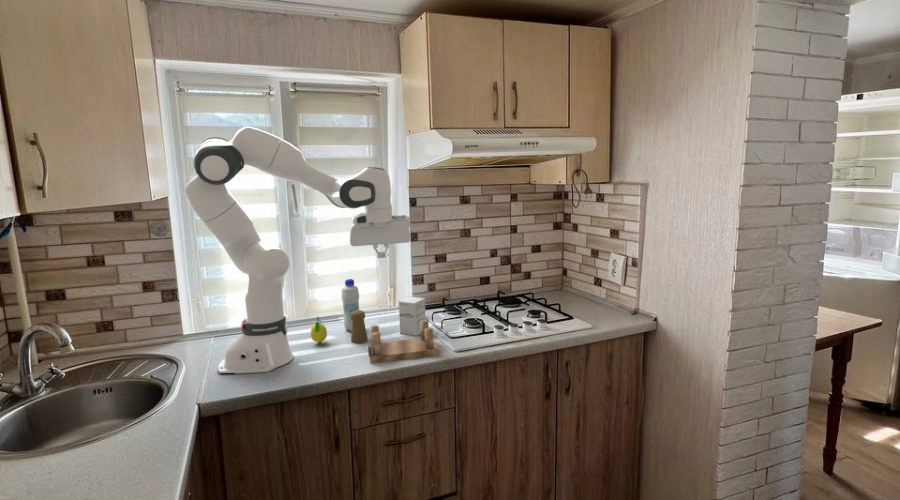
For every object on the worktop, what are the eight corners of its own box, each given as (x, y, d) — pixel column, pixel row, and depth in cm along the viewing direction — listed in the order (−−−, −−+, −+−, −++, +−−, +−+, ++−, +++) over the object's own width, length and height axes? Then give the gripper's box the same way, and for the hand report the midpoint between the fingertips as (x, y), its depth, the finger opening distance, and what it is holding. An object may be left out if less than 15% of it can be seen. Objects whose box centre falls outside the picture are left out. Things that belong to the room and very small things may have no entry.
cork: (364, 343, 167) (362, 313, 165) (348, 343, 168) (345, 313, 166) (370, 337, 172) (368, 308, 171) (354, 337, 174) (352, 308, 172)
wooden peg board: (369, 363, 149) (367, 337, 148) (367, 349, 161) (365, 325, 160) (438, 354, 154) (437, 329, 153) (431, 342, 166) (430, 319, 164)
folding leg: (371, 346, 157) (370, 328, 156) (380, 345, 158) (379, 327, 157) (372, 355, 150) (371, 335, 149) (381, 354, 150) (380, 334, 149)
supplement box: (399, 333, 176) (397, 300, 174) (410, 327, 182) (408, 295, 180) (416, 336, 172) (414, 302, 170) (426, 330, 179) (425, 297, 177)
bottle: (363, 326, 185) (360, 277, 182) (358, 332, 179) (355, 281, 175) (347, 326, 186) (343, 277, 182) (341, 332, 179) (337, 281, 176)
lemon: (320, 338, 173) (318, 312, 172) (332, 341, 170) (330, 314, 169) (306, 344, 168) (304, 317, 166) (318, 347, 165) (316, 319, 163)
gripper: (408, 214, 162) (410, 253, 165) (347, 217, 158) (350, 258, 160) (411, 215, 156) (413, 256, 158) (348, 219, 152) (351, 261, 154)
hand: (381, 257), depth 159 cm, fingers closed
